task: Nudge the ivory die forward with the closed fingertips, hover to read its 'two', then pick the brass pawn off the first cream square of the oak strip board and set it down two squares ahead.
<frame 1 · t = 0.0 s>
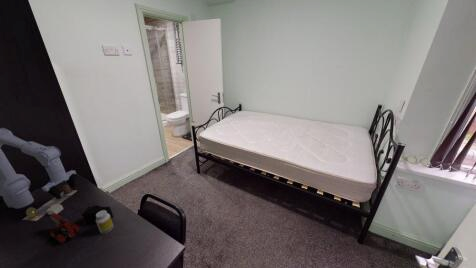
hand: (66, 193, 90), 10 cm above the table, fingers open, 7 cm apart
die: (57, 213, 91), on the table
board: (53, 205, 96), on the table
toy fire truck: (67, 234, 80), on the table
digital camera: (101, 219, 88), on the table
pawn: (34, 216, 87), point 1 cm above the table, touching board
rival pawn: (68, 192, 103), point 1 cm above the table, touching board
supplement bottle: (107, 229, 82), on the table
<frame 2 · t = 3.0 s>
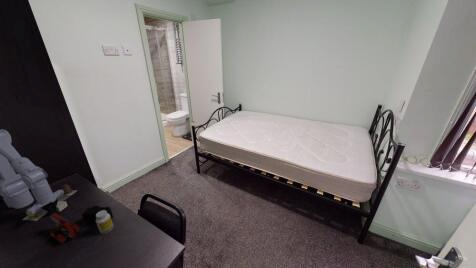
hand: (53, 213, 89), 1 cm above the table, fingers closed
die: (61, 209, 93), on the table, touching gripper
everything else where it was.
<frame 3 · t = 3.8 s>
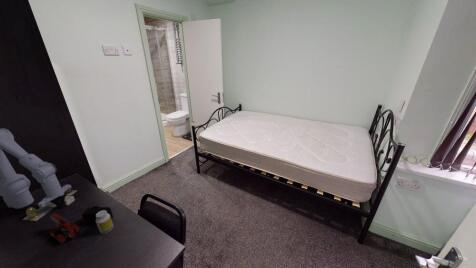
hand: (61, 207, 93), 1 cm above the table, fingers closed
die: (68, 204, 97), on the table, touching gripper
everything else where it was.
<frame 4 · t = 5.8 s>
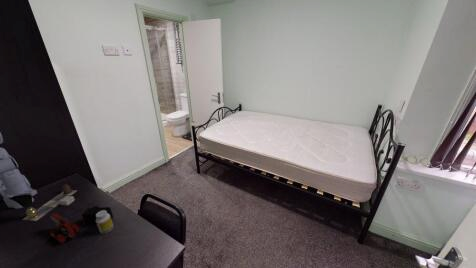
hand: (27, 205, 84), 8 cm above the table, fingers closed
die: (68, 204, 97), on the table
everything else where it was.
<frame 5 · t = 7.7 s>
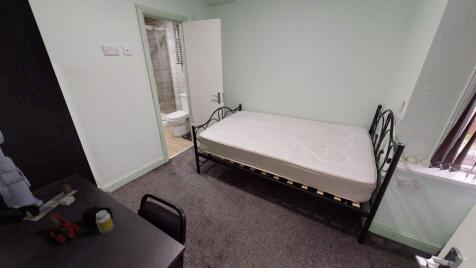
hand: (33, 215, 87), 2 cm above the table, fingers closed on pawn, 3 cm apart
digital camera: (101, 220, 87), on the table, touching supplement bottle
pawn: (34, 216, 87), point 1 cm above the table, touching board, gripper
supplement bottle: (107, 229, 83), on the table, touching digital camera
everything else where it was.
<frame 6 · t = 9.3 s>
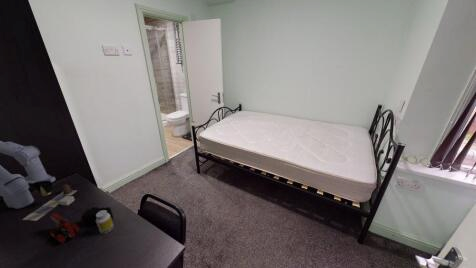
hand: (46, 191, 92), 9 cm above the table, fingers closed on pawn, 3 cm apart
pawn: (47, 193, 93), point 8 cm above the table, touching gripper
everything else where it was.
when the fingers open (3 cm above the table, at t = 10.7 s): pawn drops 1 cm, resting on board.
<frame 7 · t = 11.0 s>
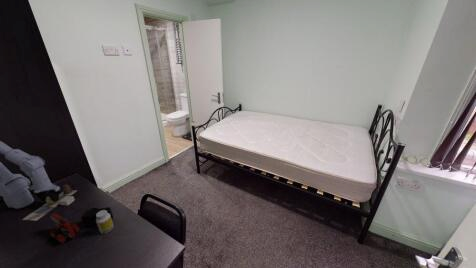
hand: (51, 200, 94), 3 cm above the table, fingers open, 6 cm apart
pawn: (52, 203, 95), point 1 cm above the table, touching board
everything else where it was.
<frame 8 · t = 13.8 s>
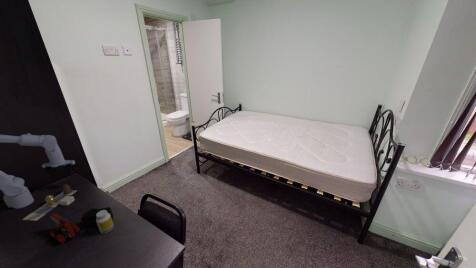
hand: (64, 175, 104), 10 cm above the table, fingers open, 7 cm apart
at the end: pawn 0.1 cm off-centre on the board, point 1.2 cm above the board's base; pawn tilted 0°; die moved 6.4 cm from its start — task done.
